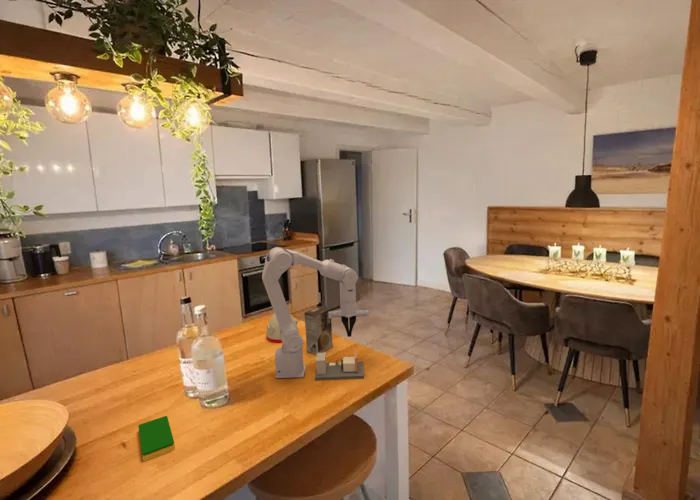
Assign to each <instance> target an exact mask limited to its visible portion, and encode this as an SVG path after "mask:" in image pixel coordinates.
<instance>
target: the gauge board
mask: <svg viewBox="0 0 700 500" xmlns="http://www.w3.org/2000/svg"><path fill="white" fill-rule="evenodd" d="M315 365H316V366H315V373H314V374H315V375H314V381H330V380H331V381H332V380H334V381H335V380H336V381H337V380H359V379H361V380H362V379H365V372H364V371H365V370H364V362H363V361H357V369H358V372H355V371H354V372H343V369H341V361H340V362H339V361H337V364H336V362H327V353H326V351H324V352H323V353H317V354H316V357H315Z"/></svg>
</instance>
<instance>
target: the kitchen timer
mask: <svg viewBox="0 0 700 500" xmlns="http://www.w3.org/2000/svg"><path fill="white" fill-rule="evenodd" d="M290 315H291V318H292V321H293V323H294V325H295V328H296V330H297V332H298V333H299V334H300V332H299V331H300V330H299V327H298V320H297V318H294V317H293V315H292V314H291V313H290ZM265 335H266V340H267V342H269V343H273V344H283V342H282V340H281V339H280V328H279V324H278V321H277V318H276V315H275V313H273V315H272V316H271V317H270V319H269V321H268V323H266V334H265Z"/></svg>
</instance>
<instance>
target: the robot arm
mask: <svg viewBox="0 0 700 500" xmlns="http://www.w3.org/2000/svg"><path fill="white" fill-rule="evenodd" d="M298 265H302V266H304V267H307V268H311V269H314V270H318V271H319V274H320V275H321V276H323V277H326V278H329V279H332V280H334V281H339V299H340V300H339V303H340V304H339V305H340V309H339V310H332V311H330V312H329V313H328V315H329V318H331V319H333V318H341V323H342V324H343V327H344V328H345V331H346V335H347V338H348V337H352V333H353V329H354V326H355V324H356V322H357V317H360V318H361V317H365V318H369V316H370V312H369V309H357V292H356V291H357V290H356V283H357V282H358V279H359V276H358V274H357V272H356V270H355V269H353V268H351V267H349V266H347V265H346V264H340V263H337V262H335V260H334V259H332V258H329V259H325V260H319V259H316V258H314V257H311V256H308V255H306V254H304V253H301V252H299V251H295V250H292V249H287V248H285V249H284V248H283V247H280V246H276V247H273V248H271V249H270V250H269V251H268V252H267V254H266V256H265V259H264V266H263V269H262V275H261V279H262V283H263V285H264V289H265V291H266V294H267V296H268V299H269V301H270V304H271V307H272V311H273V312H274V313H273V314H275V315H276V318H277V321H278V324H279V328H280V339H281V340H282V342H283V343H281V347H279V348H276V349H275V352H274V364H275V378H276V379H284V378H285V379H286V378H287V379H289V378H291V379H292V378H303V377H304V376H305V373H306V372H305V371H306V367H307V366H306V364H304V352H303V346H304V339H303V336H301V334H300V332H299V333H298V332H297V330H296V328H295V325H294V323H293V321H292V318H291V315H292V314H291V313H290V310H289V307H288V304H287V301H286V298H285V297H284V294H283V293H284V292H283V290H282V287H281V285H280V283H279V282H280V281H279V280H280V278H281V276H282V274H284V273H285V272H286V271H287V270H288V269H289V268H290V267H291V266H292V267H296V266H298ZM290 314H291V315H290Z"/></svg>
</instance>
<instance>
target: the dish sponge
mask: <svg viewBox="0 0 700 500" xmlns="http://www.w3.org/2000/svg"><path fill="white" fill-rule="evenodd" d="M138 433H139V440H140V448H141V454H142V455H141V456H142V461H144V462H146V461H149V460H151V459H155V458H157V457H159V456H161V455H165V454H167V453H170V452H173V451H175V449H176V446H175V445H176V444H175V441H174V436H173V433H172V429H171V425H170V422H169V418H168V415H164V416H162V417H159V418H155V419H153V420H150V421H146V422H142V423H140V424H138Z"/></svg>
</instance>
